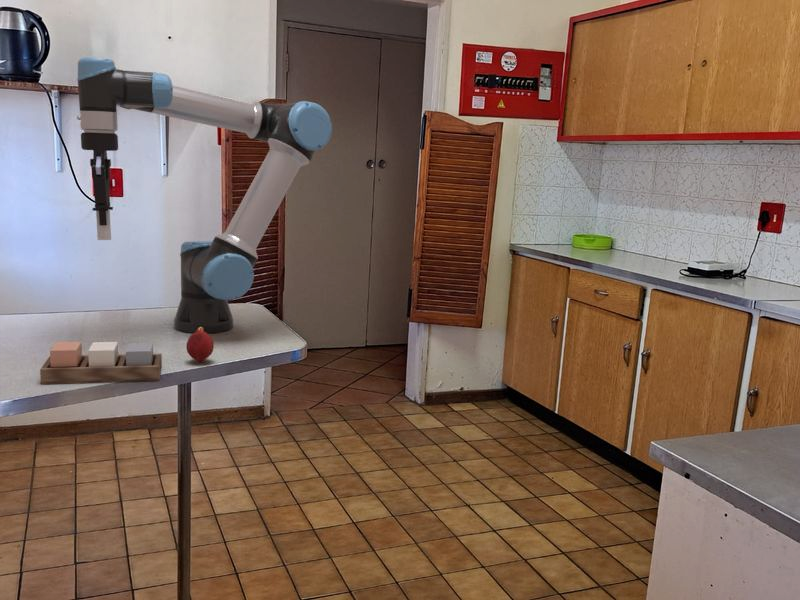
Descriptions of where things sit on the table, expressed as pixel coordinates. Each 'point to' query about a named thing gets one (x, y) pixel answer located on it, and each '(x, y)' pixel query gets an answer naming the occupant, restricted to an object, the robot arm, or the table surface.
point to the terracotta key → (66, 354)
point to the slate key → (139, 354)
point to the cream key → (103, 354)
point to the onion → (200, 345)
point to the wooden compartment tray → (101, 372)
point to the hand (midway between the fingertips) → (104, 239)
